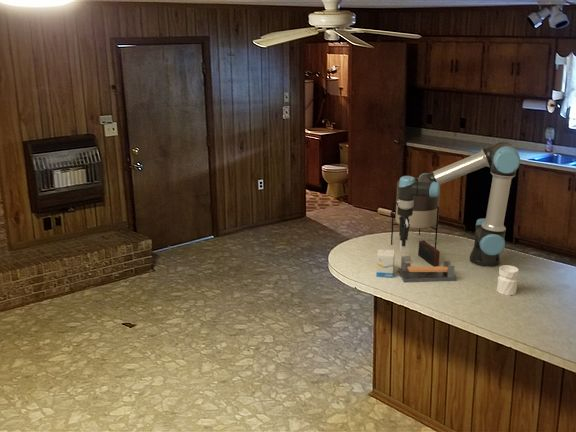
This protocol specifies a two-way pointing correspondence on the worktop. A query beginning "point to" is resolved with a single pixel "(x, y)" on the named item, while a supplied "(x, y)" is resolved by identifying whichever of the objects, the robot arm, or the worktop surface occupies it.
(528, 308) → the worktop surface
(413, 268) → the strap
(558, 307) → the worktop surface
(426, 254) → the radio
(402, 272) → the base
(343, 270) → the worktop surface
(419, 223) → the planter
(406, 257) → the keeper
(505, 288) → the vase
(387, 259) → the ink box
